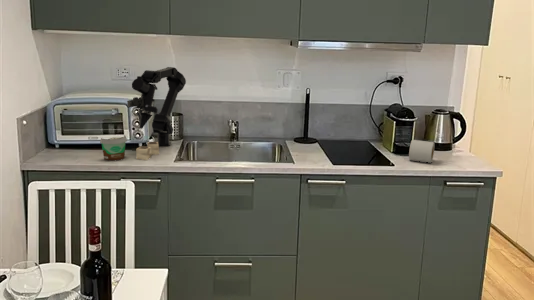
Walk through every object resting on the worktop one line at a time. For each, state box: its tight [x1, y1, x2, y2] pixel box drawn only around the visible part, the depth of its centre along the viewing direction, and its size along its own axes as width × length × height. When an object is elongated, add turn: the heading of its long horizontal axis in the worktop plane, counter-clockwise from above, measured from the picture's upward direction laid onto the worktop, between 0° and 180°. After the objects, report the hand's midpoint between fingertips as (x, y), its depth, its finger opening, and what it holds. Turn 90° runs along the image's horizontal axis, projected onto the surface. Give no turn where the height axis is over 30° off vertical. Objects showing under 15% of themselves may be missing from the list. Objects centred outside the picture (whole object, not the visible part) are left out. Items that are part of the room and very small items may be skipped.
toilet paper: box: [408, 139, 435, 164], centre depth 249 cm, size 10×10×10 cm
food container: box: [100, 134, 128, 162], centre depth 236 cm, size 12×6×10 cm, turn 130°
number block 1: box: [136, 145, 152, 161], centre depth 240 cm, size 5×5×5 cm
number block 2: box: [146, 141, 160, 156], centre depth 249 cm, size 5×5×5 cm
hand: (140, 128), depth 245 cm, fingers closed
